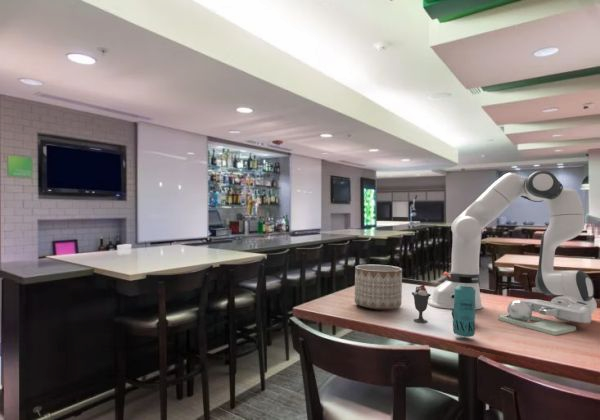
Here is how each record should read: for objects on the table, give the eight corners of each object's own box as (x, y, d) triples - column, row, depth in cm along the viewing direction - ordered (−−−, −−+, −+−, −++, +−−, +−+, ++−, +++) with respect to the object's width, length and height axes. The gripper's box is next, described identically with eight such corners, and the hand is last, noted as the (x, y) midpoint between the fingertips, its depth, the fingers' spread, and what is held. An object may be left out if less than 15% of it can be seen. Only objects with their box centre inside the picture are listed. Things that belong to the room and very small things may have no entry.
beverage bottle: (448, 335, 121) (449, 273, 121) (468, 335, 121) (469, 273, 121) (459, 342, 114) (460, 277, 114) (479, 341, 115) (480, 277, 115)
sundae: (428, 325, 131) (428, 282, 131) (409, 321, 135) (409, 280, 135) (432, 320, 137) (433, 280, 137) (413, 317, 140) (414, 278, 140)
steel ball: (523, 306, 132) (503, 315, 137) (539, 321, 133) (518, 329, 137) (520, 292, 139) (501, 301, 143) (535, 306, 139) (515, 315, 144)
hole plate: (576, 330, 129) (576, 326, 129) (554, 335, 123) (554, 331, 123) (519, 315, 146) (519, 312, 146) (498, 319, 140) (498, 316, 140)
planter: (355, 300, 168) (356, 263, 168) (399, 302, 164) (400, 265, 164) (353, 310, 149) (353, 269, 149) (402, 314, 145) (403, 272, 145)
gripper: (535, 294, 147) (514, 297, 141) (596, 306, 129) (574, 310, 122) (535, 310, 147) (514, 313, 140) (595, 324, 129) (574, 329, 122)
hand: (542, 312), depth 131 cm, fingers closed
